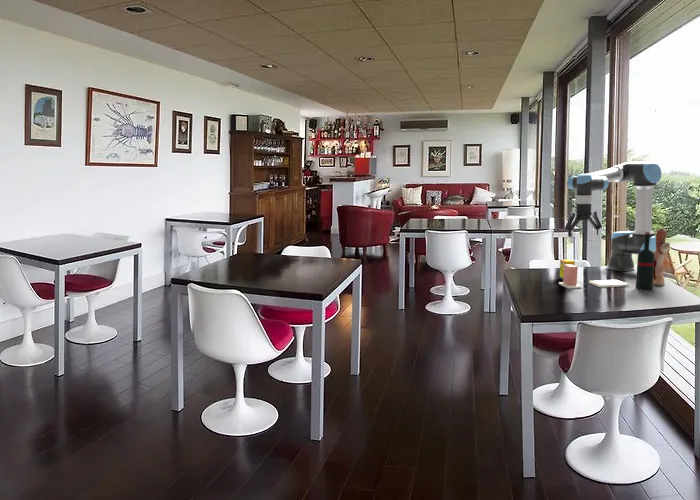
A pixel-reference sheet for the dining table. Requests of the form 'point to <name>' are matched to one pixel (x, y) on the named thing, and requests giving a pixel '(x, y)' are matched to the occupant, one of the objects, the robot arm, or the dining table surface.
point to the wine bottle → (645, 267)
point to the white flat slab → (608, 283)
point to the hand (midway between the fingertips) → (582, 241)
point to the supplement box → (562, 263)
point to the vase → (660, 256)
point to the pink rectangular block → (570, 277)
